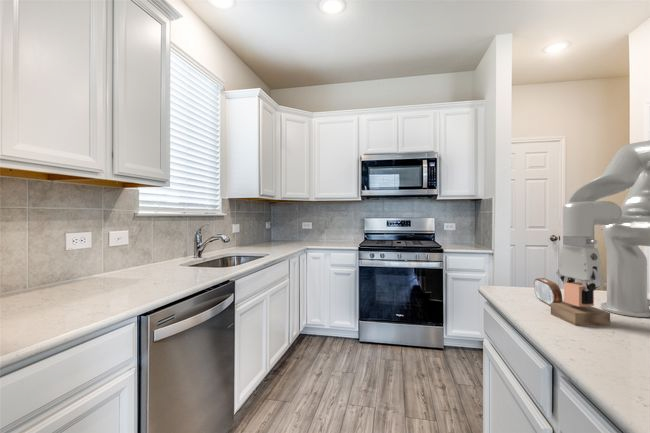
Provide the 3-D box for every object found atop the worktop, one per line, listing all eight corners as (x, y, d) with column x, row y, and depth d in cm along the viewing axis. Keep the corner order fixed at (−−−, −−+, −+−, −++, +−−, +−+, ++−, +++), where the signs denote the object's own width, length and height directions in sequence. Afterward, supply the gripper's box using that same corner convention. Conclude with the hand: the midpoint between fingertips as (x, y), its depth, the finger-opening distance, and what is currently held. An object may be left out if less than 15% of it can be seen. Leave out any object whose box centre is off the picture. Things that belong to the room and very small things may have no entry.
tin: (563, 309, 104) (563, 284, 104) (552, 309, 104) (552, 284, 104) (541, 297, 118) (541, 275, 118) (532, 297, 119) (532, 275, 119)
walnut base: (581, 315, 99) (581, 302, 99) (610, 326, 89) (610, 313, 89) (550, 315, 99) (550, 303, 99) (575, 326, 89) (575, 313, 89)
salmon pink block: (578, 301, 97) (578, 282, 97) (593, 305, 92) (593, 285, 92) (564, 301, 96) (563, 282, 96) (579, 306, 91) (578, 286, 91)
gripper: (618, 244, 86) (619, 309, 86) (564, 239, 103) (564, 293, 103) (595, 245, 85) (595, 310, 85) (544, 240, 102) (544, 294, 102)
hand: (578, 300), depth 94 cm, fingers closed on salmon pink block, 4 cm apart
